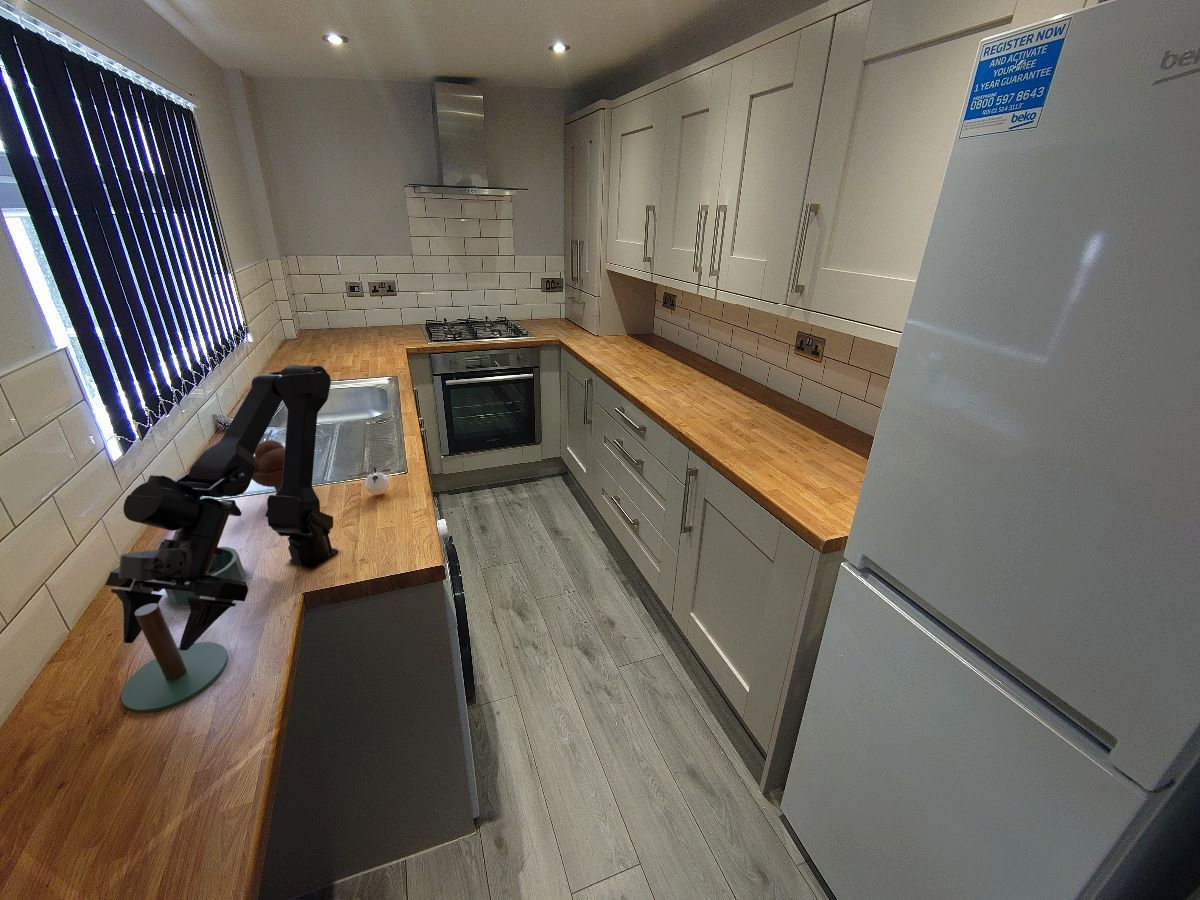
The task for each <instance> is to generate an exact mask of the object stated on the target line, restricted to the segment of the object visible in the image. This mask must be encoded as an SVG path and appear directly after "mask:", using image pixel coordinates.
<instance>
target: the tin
mask: <svg viewBox="0 0 1200 900" xmlns="http://www.w3.org/2000/svg"><path fill="white" fill-rule="evenodd" d="M217 548H220V549H223V552H222V555H221V556H219V555H214V557H213V560H212V563H211V566H210V568H209V571H208V574H210V573H211V572H213V571H215V570H217V569H219V571H217V572H214V573H213V574H211V576H213V577H219V578H226V579H232V580H237V581H243V580H244V578H245V574H246V572H245V569H244V566H243V564H242V561H241V559H240V555H239V553H238V552H237V550H236V549H235V548H233V547H229V546H218V547H217ZM175 581H176V580H171V582H175ZM189 583H190V581H186V582H185V584H188V585H189ZM170 585H172V584H170ZM177 586H178V585H177ZM164 591H165V593H166V595H167V598H168V600H169V602H170V603H171V604H174V605H176V606H189V603H188V599H187V598H197V599H199V598H200V596H197V595H194V592H187V591H178V590H169V589H164Z"/></svg>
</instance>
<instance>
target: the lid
mask: <svg viewBox="0 0 1200 900" xmlns="http://www.w3.org/2000/svg"><path fill="white" fill-rule="evenodd" d="M135 616H136V618H137V620H138V623H139V625H140V627H141V629H142V630H141V632H142V633H143V635H144V638H145V639H146V641H147V644H148V646H149V648H150V649H151V651H152V653H153V656H154V658H153V659H152V660H150V661H148V662H147V663H146V664H144V665H143V666H142V667H140V668H139V669H138V670H137V671H136V672H135V673H134V674H132V676H131V677H130V678H129V679H128V680H127V682H126V683H125V685H124V686H123V688H122V691H121V696H120V698H121V699H120V700H121V703H122V705H123V706H124V708H125V709H126V710H128V711H131V712H134V713H138V714H139V713H140V714H148V713H149V714H150V713H155V712H160V711H165V710H167V709H170V708H173V707H176V706H179V705H180V704H183V703H185V702H187V701H189V700H191V699H192V698H194V697H196V696H198V695H200V694H201V693H202V692H203V691H205V690H206V689H207V688H209V687H210V686H212V684H213V683H214V682H216V680H217V679H219V677H220V676H221V675H222V673H223V672H224V670H225V669H226V667H227V664H228V661H229V656H228V653H227V652H228V651H227V649H225V647H224V646H223V645H221V644H219V643H217V642H211V641H201V642H200V641H199V642H195V643H194V644H193V645H192V646H191V647H190V648H189V649H188V650H179V648H180V646H179V647H178V645H177V644H176V642H175V639H174V637H173V635H172V632H171V630H170V628H169V626H168V623H167V621H166V619H165V617H164V615H163V613H162V610H161V608H160V606H159V603H158V604H156V603H151V604H147V605H144V606H142V607H140V608H139V609H137V610H136V611H135Z"/></svg>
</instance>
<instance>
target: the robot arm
mask: <svg viewBox="0 0 1200 900" xmlns="http://www.w3.org/2000/svg"><path fill="white" fill-rule="evenodd" d="M331 380H332V379H331V375H330V374H329V373H328V372H327V369H325V368H324V367H323V366H321V365H304V364H303V365H301V364H299V365H298V364H289V365H286V366H285V367H284V368H283V369H280V371H279V370H278V371H272V372H267V373H260V374H258V375H255V376H254V377H253V378H252V381H251V388H250V389H249V391H248V393H247V394H246V396H245V398H244V399H243V401H242V403H241V405H240V407H238V409H237V412H236V414H235V415H234V417H233V418H232V420H231V422H230V424H229V425H228V427H227V428H226V430H225V432H224V434H223V435H222V437H221V438H220V439H219V441H217V443H215V444H214V445H212V446H210V447H208V449H206V450H204V451H203V452H202V454H200V455H199V457H198V458H197V459H196V461H195V462H194V463H193V464H192V466H191V467H190V469H189V470H188V471H187V472H186V473H184V474H183V475H181V476H179V477H178V478H176V479H175V480H174V479H172V478H170V477H169V476H166V475H163V474H162V475H161V474H150V475H149V477H148V479H147V481H146V482H144V483H142V484H139V485H138V486H137V487H135V489H133V490H132V492H130V494H128V495H127V496H126V498H125V500H124V502H123V508H122V509H123V514H124V516H125V518H126V519H127V520H128V521H131V522H134V523H138V524H142V525H146V526H150V527H154V528H158V529H162V530H166V531H170V532H173V531H174V534H173V536H172V538H171V539H168V538H164V539H163V541H161V542H160V544H159V545H158V548H157V549H148V550H142V551H135V552H129V553H123V554H120V558H119V566H118V567H117V568H115V569H113V570H112V571H110V573H109V574H108V577H107V579H106V581H105V584H104V585H105V586H107V587H116V588H111V589H110V592H111V593H112V594H115V595H116V597H118V598H119V600H120V601H121V602H122V611H123V643H124V644H133V643H134V642H135V641H136V640H137V637H138V636H139V635H140V634H141V633H142V629H141V627H140V625H139V623H138V620H137V618H136V616H135V611H136V610H137V609H139V608H140V607H142V606H144V605H147V604H151V603H156V604H158V605H159V603H160V601H161V600H162V598H163V596H164V595H163V594H157V593H159V592H161V591H162V590H165V589H169V590H178V591H187V592H194V595H197V596H200V598H199V599H197V598H187V599H188V603H189V605H188V606H189V609H190V612H189V614H188V617H187V620H186V623H185V627H184V630H183V633H182V635H181V639H180V643H179V647H180V648H179V647H178V648H179V650H188V649H189V648H190V647H191V646H192V645H193V644H194V643H197V641H198V640H199V639H200V638H201V636H202V635H203V634H204V633H206V631H207V630H208V629H209V628H210V627H211V626H212V625H213V624H214V623H215V622H216V621H217V620H218V619H219V618H220V617H221V616H222V615H223V614H224V613H225V612H227V611H228V610H229V609H230V608H231V607H234V608H235V607H236V605H237V602H245V601H246V598H247V595H248V593H249V586H248V584H247V582H246V581H243V580H242V581H237V580H232V579H226V578H219V577H213V576H211V575H212V574H211V575H210V574H209V573H208V571H209V568H210V566H211V563H212V560H213V557H214V555H219V556H221V555H222V552H223V549H220V548H217V547H219V544H220V541H221V539H222V535H223V533H224V530H225V527H226V524H227V523H228V519H229V517H231V516H232V517H241V516H242V513H243V512H242V511H241V509H240V507H239V506H238V505H237V503H236V500H235V499H225V498H224V499H221V500H219V499H215V498H223V497H229V498H230V497H231V498H232V497H237V496H240V495H243V494H244V493H245V492H246V491H247V490H248V489H249V487H250V485H251V482H252V476H253V473H254V471H255V468H256V466H255V460H254V456H255V450H256V448H257V446H258V444H260V443H261V441H262V439H263V437H264V435H265V433H266V431H267V429H268V427H269V425H270V423H271V422H272V420H273V418H274V417H275V414H276V412H277V410H278V409H279V407H280V405H281V403H282V402H283V404H284V406H285V407H286V410H287V416H286V429H285V430H286V431H285V440H284V449H285V453H284V465H283V478H282V486H281V488H280V489H279V490H278V492H276V493H275V494H269V495H268V497H267V501H266V503H267V508H266V513H265V515H264V517H265V518H267V524H268V527H270V528H271V530H273V531H274V532H276V533H277V535H278V536H279V537H287V541H288V546H287V548H288V551H289V555H290V559H289V561H288V562H289V563H290V564H292V565H294V566H298V567H301V568H306V569H308V570H314V569H316V568H317V567H319V566H320V565H322V564H323V563H325V562H326V561H328V560H329V559H331V558H332V557H333V556H336V555H337V554H338V553H339V550H338V549H337V548H333V547H332V543H331V540H330V536H329V535H330V533H331V530H332V529H333V528H334V516H332V515H330V514H326V513H324V512H321V501H320V498H319V497H318V495H317V494H316V492H315V490H314V488H313V477H314V476H313V475H314V465H315V464H314V463H315V452H316V451H315V450H316V439H317V438H316V437H317V425H318V415H319V412H320V410H321V409H322V408H323V407H324V406H325V404H326V403H327V401H328V399H329V394H330V388H331V383H332V381H331ZM202 497H204V498H202ZM171 580H176V581H175V582H171ZM186 581H190V583H189V585H188V584H185V582H186ZM170 584H172V585H170ZM177 585H178V586H177ZM153 592H157V593H153ZM234 601H235V602H236V601H237V602H236V603H235V602H234Z"/></svg>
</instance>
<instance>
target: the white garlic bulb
mask: <svg viewBox="0 0 1200 900" xmlns="http://www.w3.org/2000/svg"><path fill="white" fill-rule="evenodd" d="M372 469H373V473H372V472H367V471H363V472H360V473H358V474H357V477H361V476H365V475H368V476H367V477H366V478H365V482H364V483H365V484H364V487H365V489H366V491H367V492H368V493H369V494H371V495H374V496H379V495H383V494H385V493H386V492H387V491H388V489H389V488H390V479H389V477H388V476H387V475H386V474H385V473H388V472H392V471H391V469H390V468H384V469H382V470H380V471H377V467H372Z"/></svg>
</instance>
